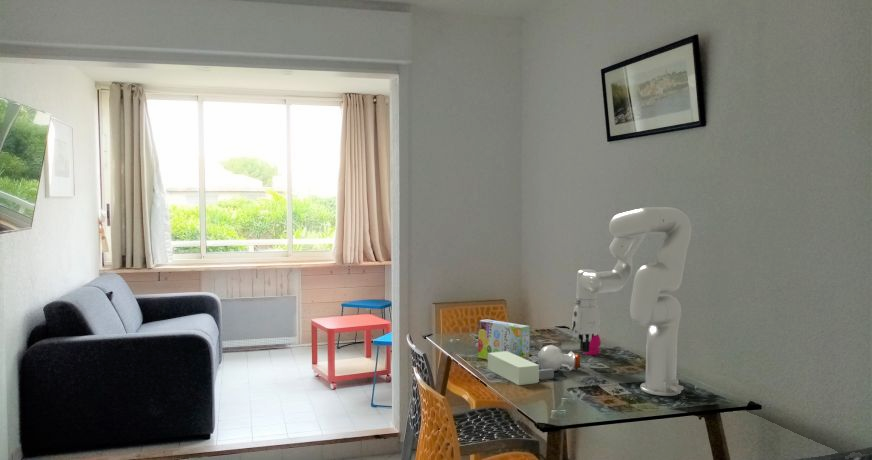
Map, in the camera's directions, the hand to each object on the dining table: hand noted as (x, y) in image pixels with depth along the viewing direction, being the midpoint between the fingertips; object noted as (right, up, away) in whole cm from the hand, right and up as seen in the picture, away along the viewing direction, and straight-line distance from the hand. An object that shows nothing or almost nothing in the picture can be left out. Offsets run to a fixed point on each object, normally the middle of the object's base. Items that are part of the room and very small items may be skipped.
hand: (584, 351), depth 238 cm
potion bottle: (-11, -6, -5) cm, 14 cm away
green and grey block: (-25, -6, -11) cm, 28 cm away
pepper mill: (+8, -5, +22) cm, 23 cm away
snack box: (-30, -6, +7) cm, 31 cm away
